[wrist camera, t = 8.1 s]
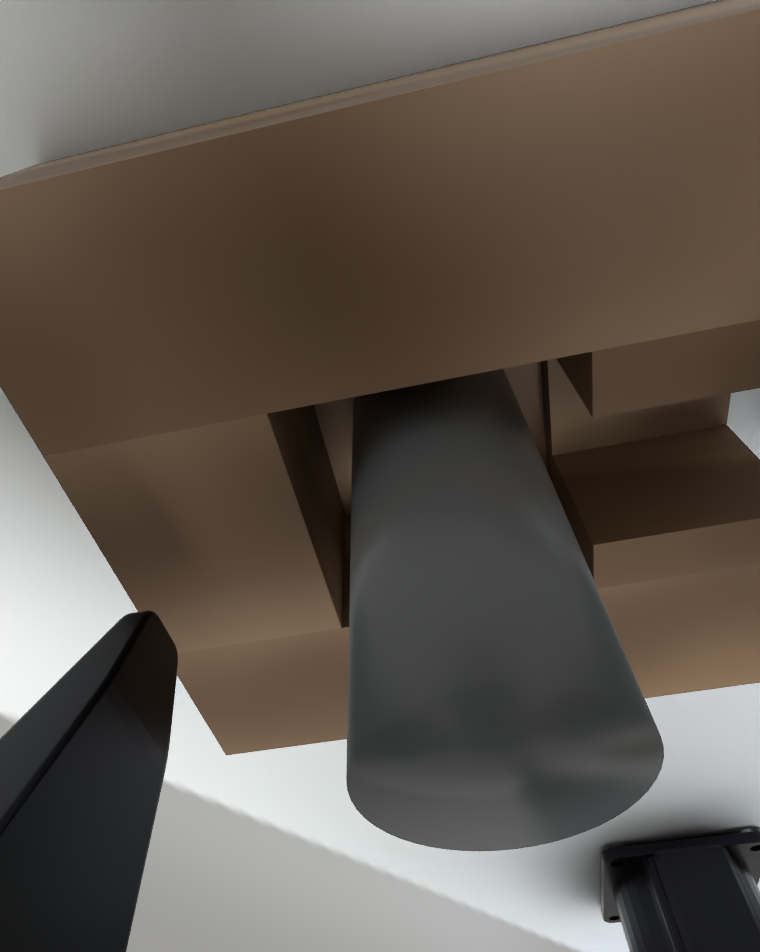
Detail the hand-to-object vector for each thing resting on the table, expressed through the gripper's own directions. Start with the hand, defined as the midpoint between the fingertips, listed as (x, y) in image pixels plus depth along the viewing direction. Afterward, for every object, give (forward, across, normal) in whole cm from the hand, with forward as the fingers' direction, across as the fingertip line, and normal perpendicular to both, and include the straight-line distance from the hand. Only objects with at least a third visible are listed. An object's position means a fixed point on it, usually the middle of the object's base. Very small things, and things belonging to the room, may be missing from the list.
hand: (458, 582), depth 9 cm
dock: (+6, 0, 0) cm, 6 cm away
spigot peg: (+5, 0, 0) cm, 5 cm away
